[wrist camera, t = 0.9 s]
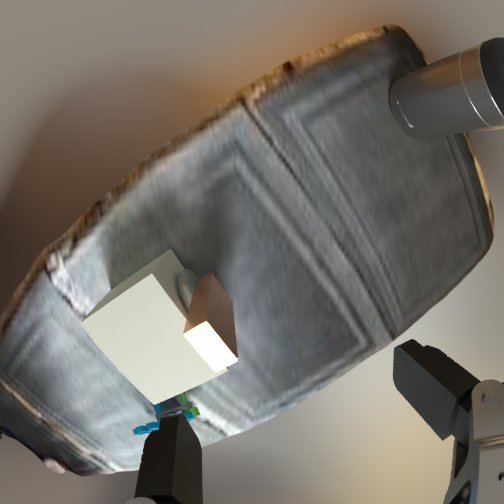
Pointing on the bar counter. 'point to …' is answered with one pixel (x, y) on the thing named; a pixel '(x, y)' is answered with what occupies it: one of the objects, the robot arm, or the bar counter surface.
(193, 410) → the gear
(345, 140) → the bar counter surface
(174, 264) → the block
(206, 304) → the wood and metal l-shape
